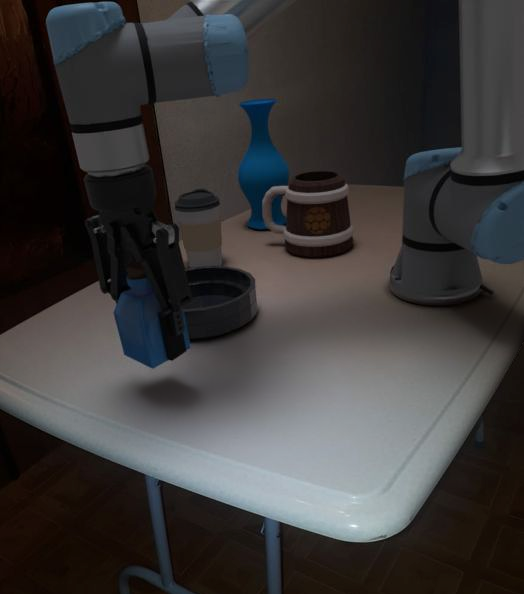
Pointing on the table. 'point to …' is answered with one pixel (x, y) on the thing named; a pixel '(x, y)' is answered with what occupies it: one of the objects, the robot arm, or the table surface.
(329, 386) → the table surface
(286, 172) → the vase
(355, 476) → the table surface
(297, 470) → the table surface
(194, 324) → the bowl
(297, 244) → the mug
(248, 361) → the table surface
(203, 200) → the coffee cup
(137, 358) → the perfume bottle
